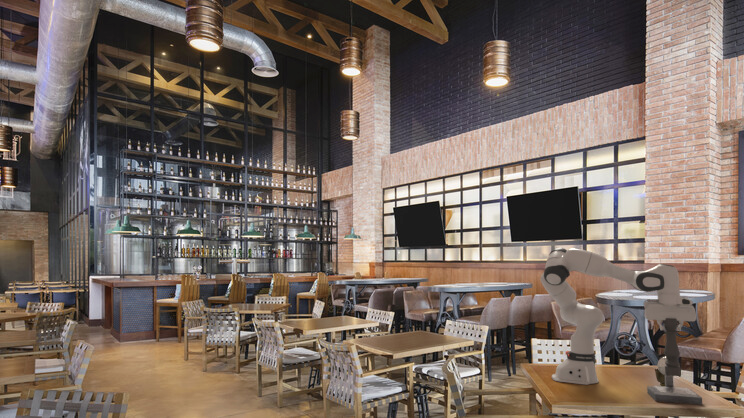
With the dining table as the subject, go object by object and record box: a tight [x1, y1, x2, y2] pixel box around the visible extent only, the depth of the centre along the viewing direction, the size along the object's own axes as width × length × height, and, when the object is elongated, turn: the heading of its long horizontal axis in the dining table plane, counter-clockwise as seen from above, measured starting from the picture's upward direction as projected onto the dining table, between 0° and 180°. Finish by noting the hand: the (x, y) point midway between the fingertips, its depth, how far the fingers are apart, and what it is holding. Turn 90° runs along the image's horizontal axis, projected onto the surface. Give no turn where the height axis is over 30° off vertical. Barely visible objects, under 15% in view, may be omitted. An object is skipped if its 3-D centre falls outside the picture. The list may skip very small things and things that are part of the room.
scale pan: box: [653, 385, 697, 397], centre depth 217 cm, size 14×11×1 cm
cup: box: [654, 367, 665, 386], centre depth 239 cm, size 8×7×8 cm
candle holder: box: [662, 318, 682, 377], centre depth 219 cm, size 6×6×25 cm
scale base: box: [646, 356, 703, 406], centre depth 219 cm, size 18×14×18 cm
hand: (670, 330), depth 220 cm, fingers closed on candle holder, 5 cm apart
